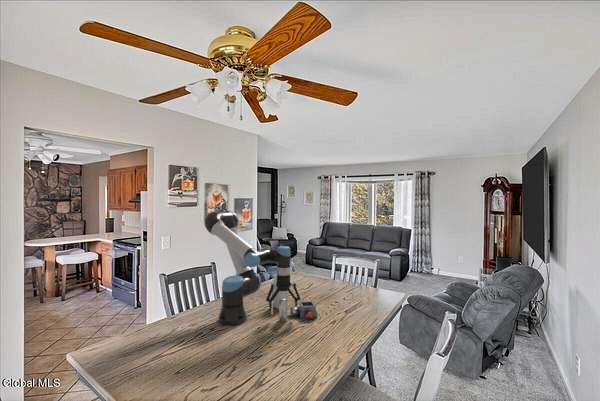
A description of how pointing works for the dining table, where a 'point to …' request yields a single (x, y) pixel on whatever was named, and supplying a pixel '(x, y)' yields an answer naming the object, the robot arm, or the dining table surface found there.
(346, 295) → the dining table surface
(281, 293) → the milk carton
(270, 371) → the dining table surface
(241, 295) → the robot arm
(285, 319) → the silver rounded cylinder
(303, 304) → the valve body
